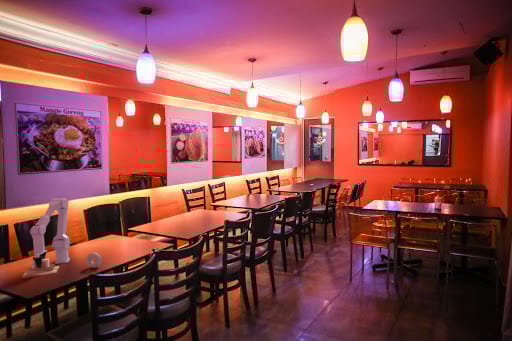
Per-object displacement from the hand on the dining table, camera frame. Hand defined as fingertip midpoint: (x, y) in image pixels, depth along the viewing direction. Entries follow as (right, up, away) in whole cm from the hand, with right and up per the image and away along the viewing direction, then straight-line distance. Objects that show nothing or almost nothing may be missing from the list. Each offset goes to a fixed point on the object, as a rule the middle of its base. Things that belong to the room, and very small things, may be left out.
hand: (40, 265), depth 216 cm
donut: (+31, -3, +5) cm, 32 cm away
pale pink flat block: (0, -3, 0) cm, 3 cm away
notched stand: (0, -4, 0) cm, 4 cm away
